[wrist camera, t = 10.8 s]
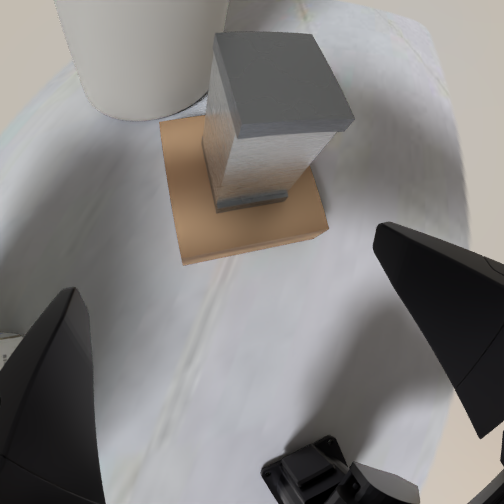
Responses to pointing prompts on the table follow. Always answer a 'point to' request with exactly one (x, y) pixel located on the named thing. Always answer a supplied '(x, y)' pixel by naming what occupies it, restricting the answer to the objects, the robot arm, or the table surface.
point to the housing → (267, 115)
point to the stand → (232, 222)
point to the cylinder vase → (142, 52)
